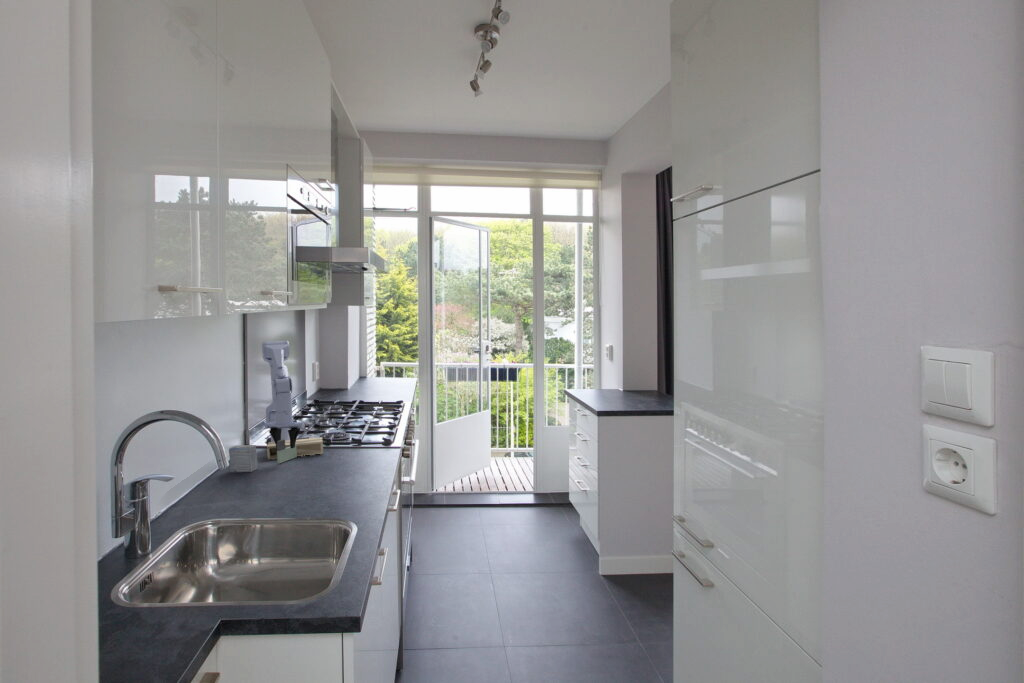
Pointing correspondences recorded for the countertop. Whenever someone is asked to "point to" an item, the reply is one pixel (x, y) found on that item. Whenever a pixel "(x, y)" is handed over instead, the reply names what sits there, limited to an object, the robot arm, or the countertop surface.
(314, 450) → the tan rectangular box
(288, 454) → the side door
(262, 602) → the countertop surface
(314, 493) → the countertop surface
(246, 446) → the medicine box
